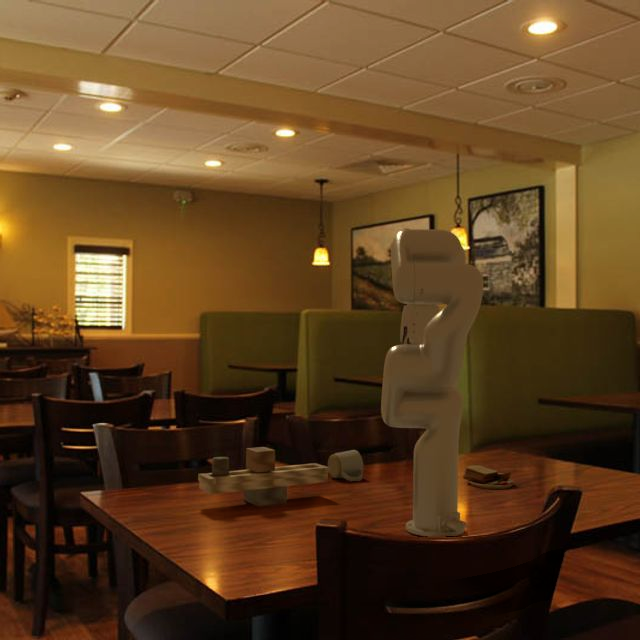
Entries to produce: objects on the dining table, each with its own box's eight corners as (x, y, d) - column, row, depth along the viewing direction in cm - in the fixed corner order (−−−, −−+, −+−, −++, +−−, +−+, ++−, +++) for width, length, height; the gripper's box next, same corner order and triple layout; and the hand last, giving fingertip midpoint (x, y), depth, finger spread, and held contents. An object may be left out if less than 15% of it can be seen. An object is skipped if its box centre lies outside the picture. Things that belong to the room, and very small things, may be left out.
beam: (313, 491, 213) (314, 447, 213) (329, 497, 206) (330, 452, 206) (197, 505, 196) (197, 457, 196) (210, 512, 189) (210, 462, 189)
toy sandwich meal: (494, 492, 216) (494, 474, 216) (455, 484, 226) (456, 467, 226) (523, 486, 224) (523, 469, 224) (484, 478, 234) (484, 462, 234)
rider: (263, 473, 204) (264, 446, 204) (274, 478, 199) (275, 450, 199) (245, 475, 202) (246, 448, 202) (256, 479, 196) (256, 451, 196)
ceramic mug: (325, 476, 233) (326, 450, 233) (349, 474, 238) (349, 447, 237) (345, 484, 224) (346, 456, 224) (370, 481, 229) (370, 454, 228)
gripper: (436, 300, 211) (435, 371, 211) (389, 299, 203) (388, 372, 203) (454, 300, 204) (454, 373, 204) (406, 299, 197) (406, 374, 197)
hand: (421, 372), depth 204 cm, fingers closed
